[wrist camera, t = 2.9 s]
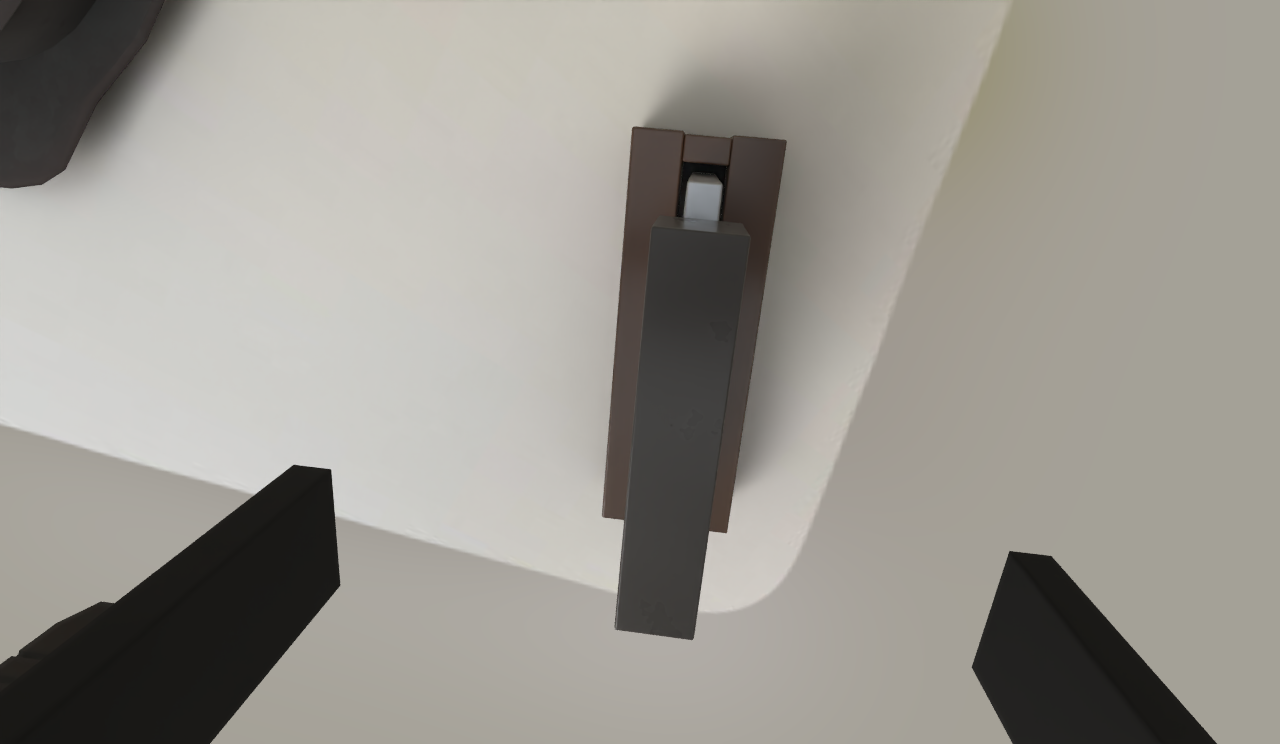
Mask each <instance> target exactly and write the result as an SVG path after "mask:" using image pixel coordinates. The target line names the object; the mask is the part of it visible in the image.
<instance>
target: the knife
mask: <svg viewBox="0 0 1280 744" xmlns="http://www.w3.org/2000/svg"><path fill="white" fill-rule="evenodd" d="M722 189H723V185H722V183H721V182H720V181H719V179H718V178H717V176H716V175H715V174H711V173H700V172H692V174H691V176H690V178H689V180H688V182H687V189H686V198H685V207H684V217H683V218H682V217H672V216H662V215H661V216H659V217H658V219H657V220H656V221H655V223H654V224H653V226H652V228H651V234H650V245H649V256H648V266H647V277H646V288H645V299H644V310H643V321H642V332H641V343H640V354H639V365H638V376H637V387H636V398H635V409H634V420H633V431H632V442H631V453H630V464H629V475H628V486H627V497H626V508H625V519H624V529H623V540H622V551H621V562H620V573H619V584H618V595H617V606H616V618H615V629H616V630H622V631H629V632H637V633H644V634H652V635H659V636H666V637H673V638H681V639H688V640H693V638H694V633H695V625H696V619H697V612H698V605H699V598H700V591H701V584H702V577H703V570H704V563H705V556H706V549H707V542H708V535H709V528H710V521H711V514H712V507H713V499H714V492H715V485H716V478H717V471H718V464H719V457H720V450H721V443H722V436H723V429H724V422H725V415H726V408H727V401H728V394H729V387H730V380H731V373H732V366H733V359H734V352H735V345H736V338H737V331H738V324H739V317H740V309H741V302H742V295H743V288H744V281H745V274H746V267H747V260H748V253H749V246H750V239H751V238H750V235H749V234H748V232H747V230H746V229H745V227H744V225H743V224H742V223H733V222H723V221H719V213H720V205H721V197H722Z"/></svg>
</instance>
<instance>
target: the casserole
mask: <svg viewBox="0 0 1280 744" xmlns="http://www.w3.org/2000/svg"><path fill="white" fill-rule="evenodd" d="M163 3H164V0H0V187H4V188H19V187H27V186H35V185H42V184H44V183H45V182H47V181H48V180H50V179H51V178H53V177H55V176H56V175H58V174H59V173H61V172H62V171H64V170H65V169H66V167H67V165H68V163H69V161H70V159H71V156H72V154H73V152H74V150H75V148H76V146H77V144H78V142H79V140H80V138H81V136H82V133H83V131H84V129H85V127H86V125H87V123H88V121H89V119H90V117H91V115H92V113H93V110H94V108H95V106H96V104H97V103H98V101H99V100H100V99H101V98H102V96H103V95H104V94H105V93H106V91H107V90H108V89H109V88H110V86H111V85H112V84H113V83H114V81H115V80H116V79H117V78H118V76H119V75H120V74H121V73H122V71H123V70H124V69H125V68H126V66H127V65H128V64H129V63H130V61H131V60H132V59H133V57H134V56H135V55H136V54H137V52H138V51H139V50H140V49H141V47H142V46H143V45H144V44H145V42H146V41H147V38H148V36H149V34H150V32H151V29H152V27H153V25H154V23H155V21H156V18H157V16H158V14H159V12H160V9H161V7H162V5H163Z"/></svg>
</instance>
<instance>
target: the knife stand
mask: <svg viewBox="0 0 1280 744" xmlns="http://www.w3.org/2000/svg"><path fill="white" fill-rule="evenodd" d="M786 143H787V141H786V140H779V139H768V138H757V137H746V136H732V137H731V138H725V137H714V136H703V135H692V134H686V133H685V132H684V131H680V130H668V129H657V128H646V127H633V128H632V136H631V149H630V162H629V175H628V188H627V201H626V214H625V226H624V239H623V252H622V265H621V278H620V291H619V303H618V316H617V329H616V342H615V355H614V368H613V381H612V393H611V406H610V419H609V432H608V445H607V458H606V470H605V483H604V496H603V509H602V516H603V517H605V518H613V519H621V520H624V519H625V508H626V497H627V486H628V475H629V464H630V453H631V442H632V431H633V420H634V409H635V398H636V387H637V376H638V365H639V354H640V343H641V332H642V321H643V310H644V299H645V288H646V277H647V266H648V256H649V245H650V234H651V228H652V226H653V224H654V223H655V221H656V220H657V219H658V217H659V216H661V215H662V216H672V217H678V212H679V203H680V193H681V184H682V174H683V164H684V162H690V163H701V164H712V165H723V166H726V172H725V180H724V188H723V196H722V204H721V212H720V220H719V221H723V222H733V223H742V224H743V225H744V227H745V229H746V230H747V232H748V234H749V235H750V238H751V239H750V246H749V253H748V260H747V267H746V274H745V281H744V288H743V295H742V302H741V309H740V317H739V324H738V331H737V338H736V345H735V352H734V359H733V366H732V373H731V380H730V387H729V394H728V401H727V408H726V415H725V422H724V429H723V436H722V443H721V450H720V457H719V464H718V471H717V478H716V485H715V492H714V499H713V507H712V514H711V521H710V528H709V531H713V532H721V533H727V529H728V522H729V516H730V509H731V503H732V496H733V490H734V483H735V477H736V470H737V464H738V457H739V451H740V444H741V437H742V431H743V424H744V418H745V411H746V405H747V398H748V392H749V385H750V379H751V372H752V365H753V359H754V352H755V346H756V339H757V333H758V326H759V320H760V313H761V307H762V300H763V294H764V287H765V280H766V274H767V267H768V261H769V254H770V248H771V241H772V235H773V228H774V222H775V215H776V209H777V202H778V195H779V189H780V182H781V176H782V169H783V163H784V156H785V150H786Z"/></svg>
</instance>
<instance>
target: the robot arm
mask: <svg viewBox="0 0 1280 744" xmlns="http://www.w3.org/2000/svg"><path fill="white" fill-rule="evenodd" d="M335 526H336V525H335V512H334V500H333V487H332V475H331V469H324V468H315V467H307V466H299V465H293V466H292V467H290V468H289V469H288V470H286V471H285V472H284V473H283V474H281V475H280V476H279V477H277V478H276V479H275V480H273V481H272V482H271V483H270V484H268V485H267V486H266V487H264V488H263V489H262V490H261V491H259V492H258V493H257V494H255V495H254V496H253V497H251V498H250V499H249V500H248V501H246V502H245V503H244V504H242V505H241V506H240V507H239V508H237V509H236V510H235V511H233V512H232V513H231V514H229V515H228V516H227V517H226V518H224V519H223V520H222V521H220V522H219V523H218V524H217V525H215V526H214V527H213V528H211V529H210V530H209V531H207V532H206V533H205V534H204V535H202V536H201V537H200V538H199V539H197V540H196V541H195V542H193V543H192V544H191V545H189V546H188V547H187V548H186V549H184V550H183V551H182V552H180V553H179V554H178V555H177V556H175V557H174V558H173V559H171V560H170V561H169V562H167V563H166V564H165V565H164V566H162V567H161V568H160V569H158V570H157V571H156V572H154V573H153V574H152V575H151V576H149V577H148V578H147V579H146V580H144V581H143V582H142V583H140V584H139V585H138V586H136V587H135V588H134V589H132V590H131V591H130V592H129V593H127V594H126V595H125V596H123V597H122V598H121V599H120V600H118V601H117V602H116V603H108V602H99V603H97V604H95V605H93V606H91V607H89V608H87V609H85V610H83V611H81V612H79V613H77V614H75V615H72V616H70V617H68V618H66V619H64V620H62V621H60V622H58V623H56V624H55V625H53V626H52V627H51V628H49V629H48V630H47V631H45V632H44V633H43V634H41V635H40V636H38V637H37V638H36V639H34V640H33V641H32V642H30V643H29V644H28V645H26V646H25V647H23V648H22V649H21V650H20V651H19V654H18V655H17V656H16V657H13V656H11V657H10V658H8V659H7V660H6V661H4V662H3V663H2V664H0V744H210V743H211V742H212V740H213V739H214V738H215V737H216V736H217V734H218V733H219V732H220V731H221V730H222V728H223V727H224V726H225V725H226V724H227V722H228V721H229V720H230V719H231V717H232V716H233V715H234V714H235V713H236V711H237V710H238V709H239V708H240V707H241V705H242V704H243V703H244V702H245V700H246V699H247V698H248V697H249V695H250V694H251V693H252V692H253V691H254V689H255V688H256V687H257V686H258V685H259V683H260V682H261V681H262V680H263V679H264V677H265V676H266V675H267V674H268V673H269V671H270V670H271V669H272V668H273V666H274V665H275V664H276V663H277V662H278V660H279V659H280V658H281V657H282V655H283V654H284V653H285V652H286V651H287V650H288V648H289V647H290V646H291V645H292V643H293V642H294V641H295V640H296V638H297V637H298V636H299V635H300V634H301V632H302V631H303V630H304V629H305V628H306V626H307V625H308V624H309V623H310V622H311V620H312V619H313V618H314V617H315V616H316V614H317V613H318V612H319V611H320V609H321V608H322V607H323V606H324V605H325V603H326V602H327V601H328V600H329V599H330V597H331V596H332V595H333V594H334V592H335V591H336V590H337V589H338V588H339V586H340V575H339V564H338V551H337V538H336V527H335ZM972 668H973V670H974V672H975V674H976V676H977V678H978V680H979V681H980V684H981V685H982V687H983V689H984V691H985V693H986V695H987V697H988V698H989V700H990V702H991V704H992V706H993V708H994V710H995V711H996V713H997V715H998V717H999V719H1000V721H1001V722H1002V724H1003V726H1004V728H1005V730H1006V732H1007V734H1008V736H1009V737H1010V739H1011V741H1012V743H1013V744H1217V743H1216V742H1215V741H1214V740H1213V739H1212V737H1210V735H1209V734H1208V733H1207V732H1206V731H1205V730H1204V728H1203V727H1202V726H1201V725H1200V724H1199V723H1198V722H1197V721H1196V719H1195V718H1194V717H1193V716H1192V715H1191V714H1190V713H1189V711H1188V710H1187V709H1186V708H1185V707H1184V706H1183V705H1182V704H1181V702H1180V701H1179V700H1178V699H1177V698H1176V697H1175V696H1174V694H1173V693H1172V692H1171V691H1170V690H1169V689H1168V688H1167V686H1166V685H1165V684H1164V683H1163V682H1162V681H1161V680H1160V679H1159V678H1158V676H1157V675H1156V674H1155V673H1154V672H1153V671H1152V669H1150V667H1149V666H1148V665H1147V664H1146V663H1145V662H1144V660H1143V659H1142V658H1141V657H1140V656H1139V655H1138V654H1137V653H1136V651H1135V650H1134V649H1133V648H1132V647H1131V646H1130V645H1129V644H1128V642H1127V641H1126V640H1125V639H1124V638H1123V637H1122V636H1121V634H1120V633H1119V632H1118V631H1117V630H1116V629H1115V628H1114V627H1113V625H1112V624H1111V623H1110V622H1109V621H1108V620H1107V619H1106V617H1105V616H1104V615H1103V614H1102V613H1101V612H1100V611H1099V610H1098V608H1097V607H1096V606H1095V605H1094V604H1093V603H1092V602H1091V600H1090V599H1089V598H1088V597H1087V596H1086V595H1085V594H1084V593H1083V591H1082V590H1081V589H1080V588H1079V587H1078V586H1077V585H1076V583H1075V582H1074V581H1073V580H1072V579H1071V578H1070V577H1069V576H1068V574H1067V573H1066V572H1065V571H1064V570H1063V569H1062V568H1061V566H1060V565H1059V564H1058V563H1057V562H1056V561H1055V560H1054V559H1053V558H1052V556H1046V555H1038V554H1030V553H1021V552H1013V551H1010V552H1009V554H1008V558H1007V561H1006V564H1005V567H1004V570H1003V573H1002V576H1001V579H1000V582H999V585H998V588H997V591H996V594H995V597H994V601H993V603H992V607H991V610H990V613H989V616H988V619H987V622H986V625H985V628H984V632H983V634H982V637H981V641H980V644H979V647H978V650H977V653H976V656H975V659H974V662H973V665H972Z"/></svg>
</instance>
